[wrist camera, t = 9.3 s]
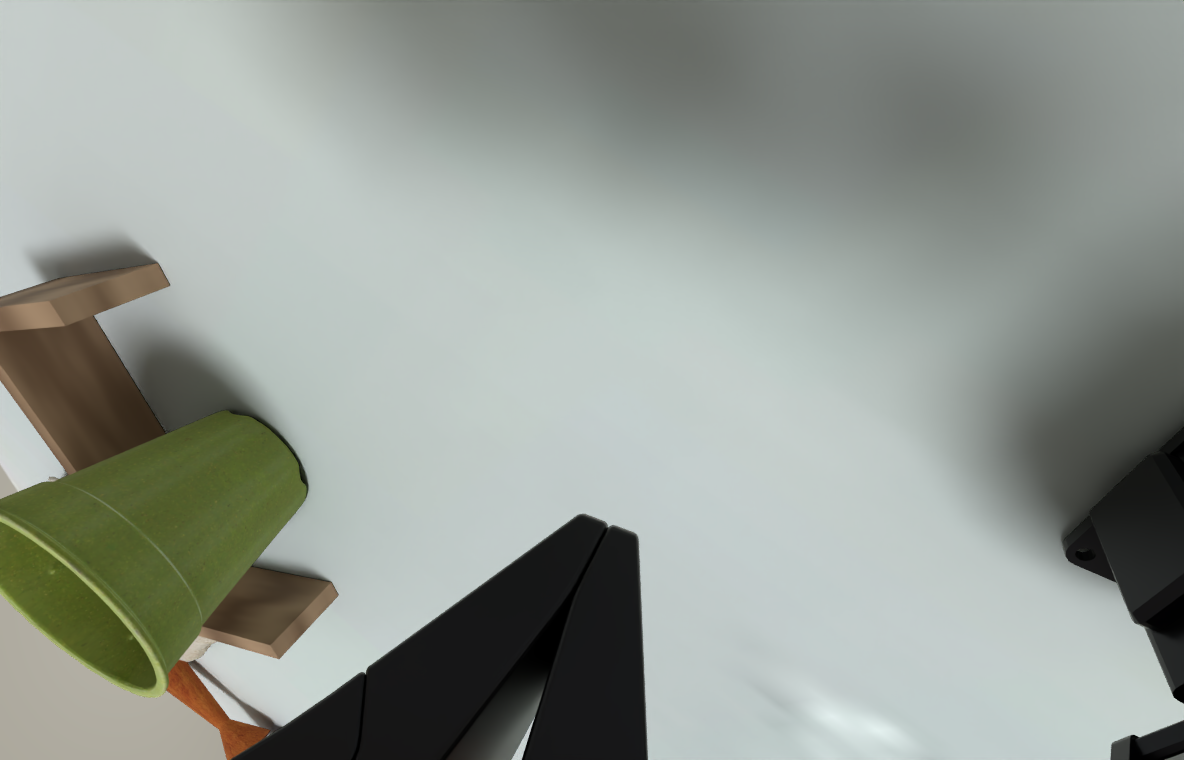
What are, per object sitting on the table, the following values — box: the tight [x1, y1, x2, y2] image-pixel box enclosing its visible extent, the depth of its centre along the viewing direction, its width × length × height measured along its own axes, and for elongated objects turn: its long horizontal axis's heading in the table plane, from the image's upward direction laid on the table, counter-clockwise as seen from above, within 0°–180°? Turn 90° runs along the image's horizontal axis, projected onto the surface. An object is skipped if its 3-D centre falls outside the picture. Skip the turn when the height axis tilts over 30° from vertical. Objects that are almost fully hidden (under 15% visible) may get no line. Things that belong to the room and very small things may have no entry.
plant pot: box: [0, 410, 307, 698], centre depth 31 cm, size 12×12×11 cm
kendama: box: [166, 660, 271, 760], centre depth 57 cm, size 6×6×20 cm
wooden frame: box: [0, 263, 338, 659], centre depth 36 cm, size 10×23×5 cm, turn 13°
